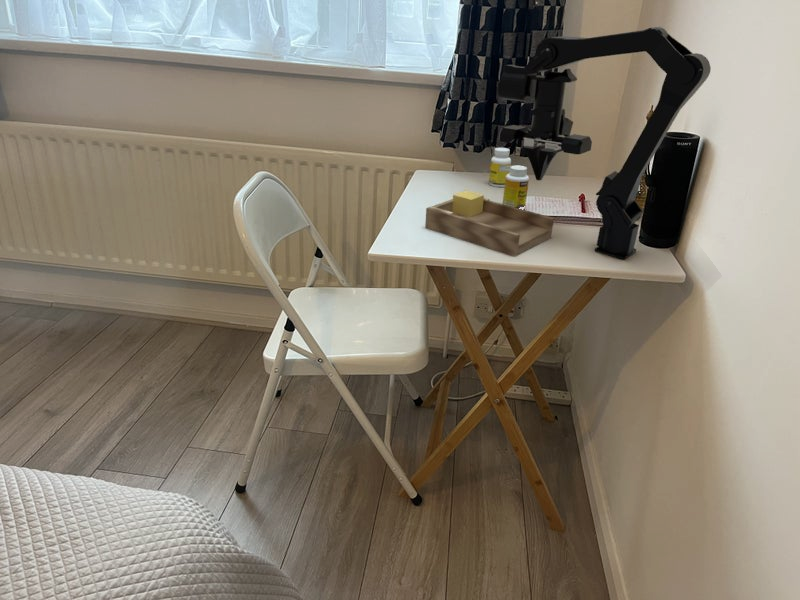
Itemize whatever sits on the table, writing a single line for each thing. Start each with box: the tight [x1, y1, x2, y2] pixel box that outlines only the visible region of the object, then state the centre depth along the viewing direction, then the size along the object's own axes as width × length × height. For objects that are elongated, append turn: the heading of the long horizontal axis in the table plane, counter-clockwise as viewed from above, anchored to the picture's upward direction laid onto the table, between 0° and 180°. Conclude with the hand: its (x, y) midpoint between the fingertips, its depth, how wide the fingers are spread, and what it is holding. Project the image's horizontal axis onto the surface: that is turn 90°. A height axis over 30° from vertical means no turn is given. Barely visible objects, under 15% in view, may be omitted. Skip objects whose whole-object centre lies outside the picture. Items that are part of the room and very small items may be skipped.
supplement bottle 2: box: [502, 164, 530, 208], centre depth 146 cm, size 6×6×10 cm
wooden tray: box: [424, 197, 555, 257], centre depth 132 cm, size 23×15×5 cm, turn 49°
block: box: [452, 190, 485, 217], centre depth 138 cm, size 5×5×4 cm
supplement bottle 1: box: [488, 147, 512, 188], centre depth 165 cm, size 5×5×10 cm
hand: (539, 179), depth 130 cm, fingers closed
